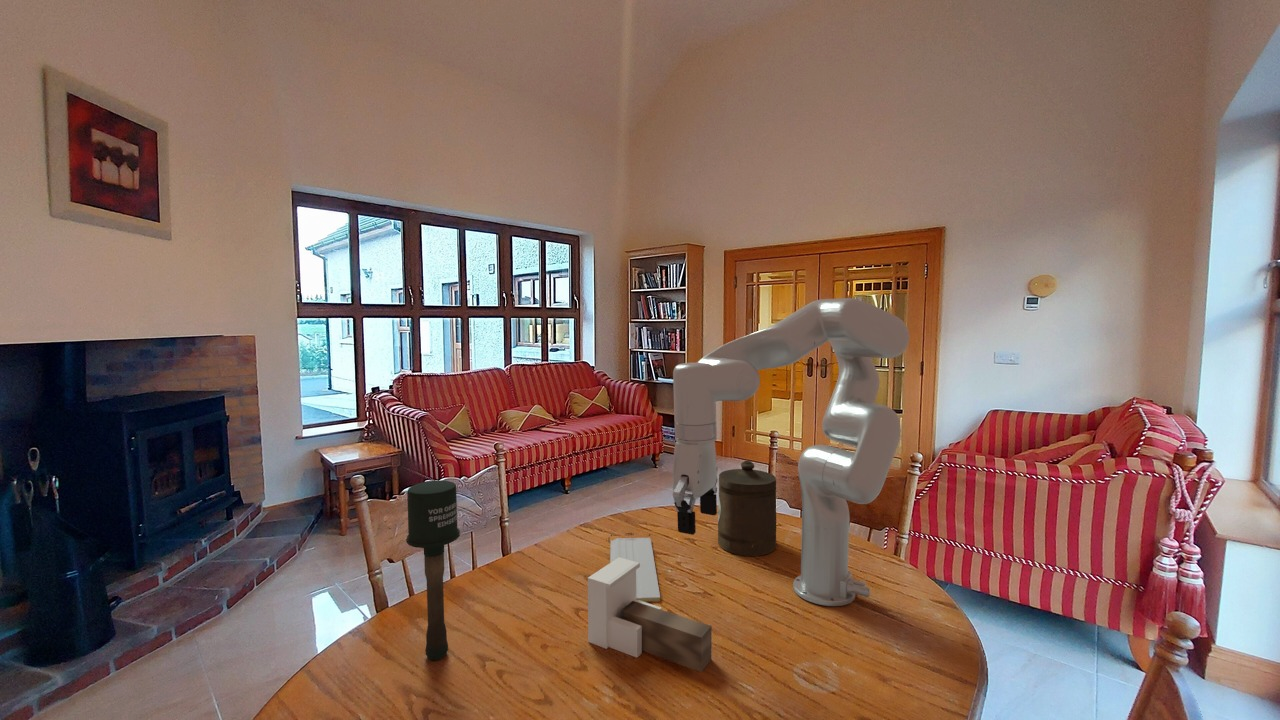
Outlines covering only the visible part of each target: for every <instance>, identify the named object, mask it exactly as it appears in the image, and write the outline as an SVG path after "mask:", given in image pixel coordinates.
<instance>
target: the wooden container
mask: <svg viewBox="0 0 1280 720" xmlns="http://www.w3.org/2000/svg"><path fill="white" fill-rule="evenodd" d="M754 468H755V463H754V462H752V461H751V460H744V461H743V462H741V463H740V468H734V469H733V468H732V469H727V470H723V471H721V472H720V473H719V475H718V500H717V503H718V504H717V505H718V506H717V544H718V545H719V547H720V548H721V549H722V550H723V551H724V550H725V551H726V552H728V553H731V554H735V555H738V556H745V557H759V556H764V555H769V554H771V553H773V552H774V551H775V550H776V549H777V548H776V547H777V478H776V476H775V475H774V474H772V473H770V472H768V471H763V470H758V469H754Z"/></svg>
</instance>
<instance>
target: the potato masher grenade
mask: <svg viewBox="0 0 1280 720" xmlns="http://www.w3.org/2000/svg"><path fill="white" fill-rule="evenodd" d="M406 494H407V498H406V499H407V523H408V524H407V526H408V529H407V531H408V534H407V536H406V539H405V542H406V544H407V545H408V546H410V547H413V548H419V549H423V556H424V558H423V561H424V576H425V580H426V601H427V602H426V604H427V607H426V610H427V629H426V633H425V634H426V636H425V637H426V638H425V639H426V643H425V644H426V645H425V650H424V651H425V652H424V653H425V656H426V657H427V659H428V660H430V661H439V660H441V659H443V658H444V657H445V656H446V655H447V654H448V651H449V643H448V639H447V638H448V636H447V632H448V631H447V628H446V624H445V623H446V622H445V606H444V605H445V603H444V601H445V600H444V599H445V598H444V596H445V595H444V575H445V545H448V544H451V543H453V542H455V541H457V539H458V538H460V536H461V534H460V533H461V531H460V529H459V528H458V505H457V504H458V503H457V502H458V501H457V500H458V499H457V484H456V483H454V482H453V481H450V480H428V481H423V482H418V483H416V484H413V485H411V486H410V487H408V489H407V491H406Z"/></svg>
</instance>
